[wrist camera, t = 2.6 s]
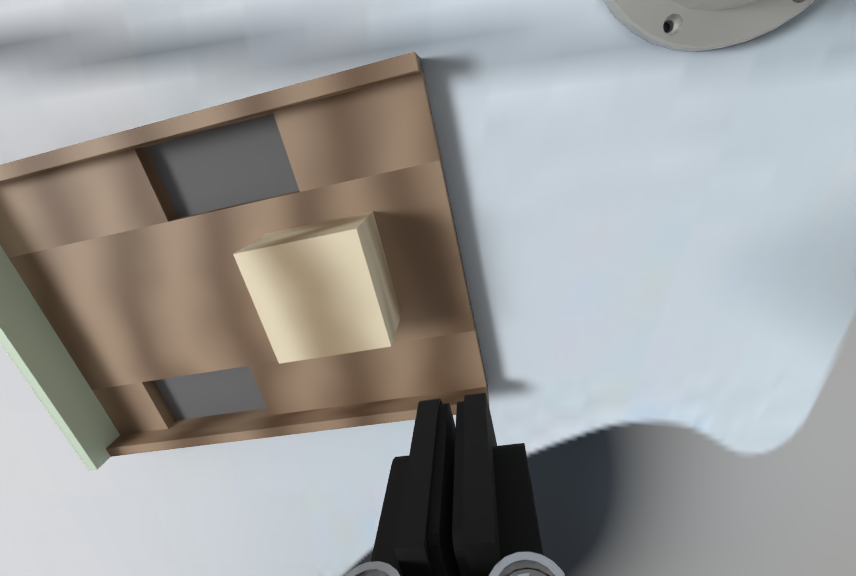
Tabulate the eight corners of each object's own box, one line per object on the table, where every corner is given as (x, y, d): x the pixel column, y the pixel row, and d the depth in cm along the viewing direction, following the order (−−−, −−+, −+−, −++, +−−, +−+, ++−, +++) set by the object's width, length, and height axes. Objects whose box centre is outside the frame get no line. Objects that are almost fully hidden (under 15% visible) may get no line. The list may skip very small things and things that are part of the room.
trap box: (420, 58, 23) (414, 51, 20) (487, 385, 30) (489, 410, 28) (-21, 177, 28) (-69, 183, 25) (135, 432, 35) (110, 456, 33)
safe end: (-21, 177, 28) (-96, 187, 24) (135, 432, 35) (97, 469, 32) (-30, 179, 28) (-107, 190, 24) (127, 433, 36) (88, 470, 32)
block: (372, 211, 25) (356, 228, 21) (401, 314, 27) (391, 346, 24) (266, 233, 26) (232, 254, 22) (303, 331, 29) (278, 363, 25)
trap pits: (281, 111, 24) (280, 111, 24) (373, 392, 32) (373, 393, 31) (42, 174, 27) (39, 175, 27) (177, 418, 34) (176, 420, 34)
